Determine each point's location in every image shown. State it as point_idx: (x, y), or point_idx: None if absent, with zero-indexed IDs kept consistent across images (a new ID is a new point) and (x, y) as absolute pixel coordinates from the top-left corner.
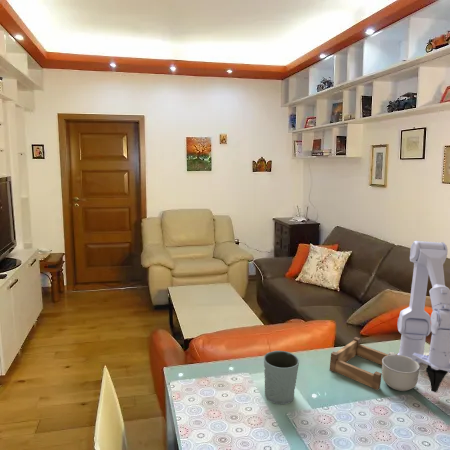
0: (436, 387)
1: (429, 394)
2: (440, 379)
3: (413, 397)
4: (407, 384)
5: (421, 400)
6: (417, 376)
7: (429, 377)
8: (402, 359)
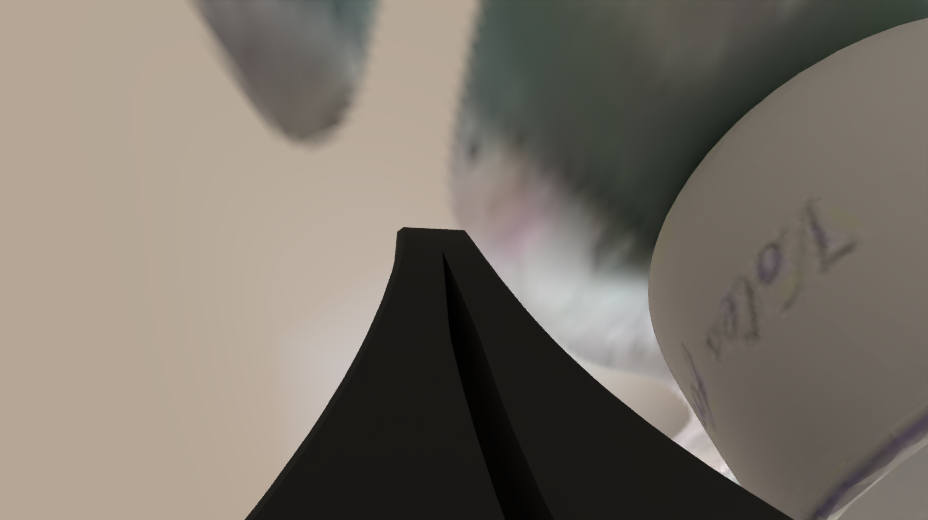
0: (402, 275)
1: (469, 234)
2: (326, 458)
3: (651, 34)
4: (886, 88)
5: (546, 27)
6: (749, 336)
7: (599, 392)
8: (912, 515)
